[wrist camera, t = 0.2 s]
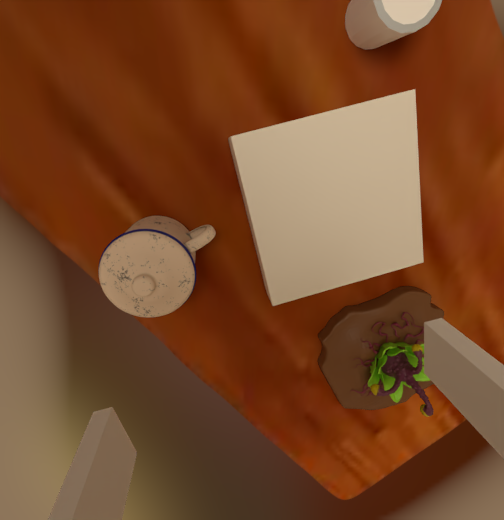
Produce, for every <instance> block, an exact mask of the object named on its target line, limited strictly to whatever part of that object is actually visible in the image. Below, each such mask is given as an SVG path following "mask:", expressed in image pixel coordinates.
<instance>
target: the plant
mask: <svg viewBox="0 0 504 520" xmlns="http://www.w3.org/2000/svg"><path fill="white" fill-rule="evenodd" d="M430 302H431V295H430V294H428V293H427V292H425V291H423V290H421V289H419V288H416V287H411V286H402V287H398V288H396V289H393V290H391V291H389V292H387V293H385V294H384V295H382V296H380V297H378V298H375V299H373V300H370V301H367V302H364V303H361V304H358V305H353V306H345V307H344V308H342V310H341V311H340V312H338V313H337V314H336V315H334V316H333V317H332V318H331V319H330V320H329V321H328V323H327V325H326V326H325V328H324V329H323V330H322V331H321V332H320V333H319V334H318V337H319V339H320V340H321V343H322V350H321V354H320V356H319V358H318V365H319V367H320V369H321V371H322V372H323V374H324V376H325V378H326V379H327V381H328V383H329V385H330V386H331V388H332V390H333V392H334V394H335V396H336V397H337V399H338V401H339V402H340V403H341V405H342V406H343V407H344V408H353V409H366V410H375V409H382V408H386V407H389V406H392V405H396V404H399V403H402V402H405V401H407V400H408V399H409V398H410V397H411V396H412V395H413V394H415V393H417V394H419V395H420V398H422V399H423V401H424V402H425V404H423V405H422V406H421V407H420V411H421V412H422V414H423V415H424V416H431V415H433V408H432V405H431V404H430V402H429V400H428V397H427V396H426V395H425V392H424V390H423V389H425V388H427V387H428V386H430V385H432V384H434V383H433V382H432V381H431V380H430V379H429V378H428V377H427V375H426V374H425V373H424V322H428V321H432V320H435V319H439V318H442V319H443V316H444V312H443V310H442V309H440V308H438V307H437V306H435V305H434V304H432V303H430Z"/></svg>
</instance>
